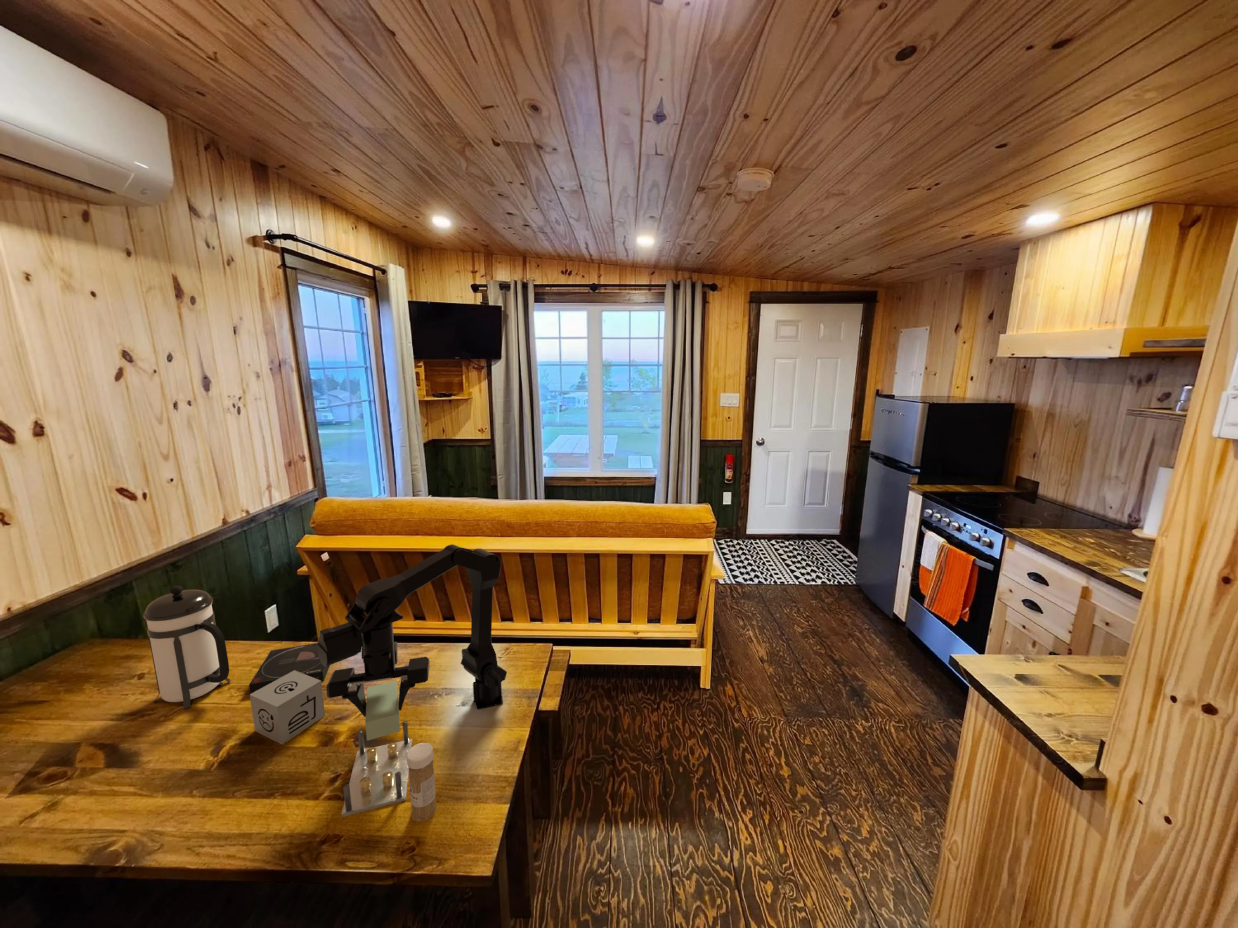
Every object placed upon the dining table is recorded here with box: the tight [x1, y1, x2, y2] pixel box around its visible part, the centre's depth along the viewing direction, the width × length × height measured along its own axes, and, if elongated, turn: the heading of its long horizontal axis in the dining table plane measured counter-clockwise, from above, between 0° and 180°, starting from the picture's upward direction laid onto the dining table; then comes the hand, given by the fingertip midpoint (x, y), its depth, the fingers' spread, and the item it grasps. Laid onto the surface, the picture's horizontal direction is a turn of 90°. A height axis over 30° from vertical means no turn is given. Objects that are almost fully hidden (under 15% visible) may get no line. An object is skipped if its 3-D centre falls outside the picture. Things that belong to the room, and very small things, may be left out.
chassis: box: [341, 720, 413, 818], centre depth 97 cm, size 16×11×6 cm
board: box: [364, 680, 401, 742], centre depth 99 cm, size 12×6×4 cm, turn 26°
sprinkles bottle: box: [407, 742, 438, 823], centre depth 88 cm, size 5×5×14 cm
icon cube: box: [249, 670, 326, 746], centre depth 111 cm, size 10×10×10 cm
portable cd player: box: [248, 642, 331, 695], centre depth 132 cm, size 16×17×4 cm
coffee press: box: [142, 585, 231, 711], centre depth 120 cm, size 17×16×30 cm
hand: (383, 712), depth 100 cm, fingers closed on board, 6 cm apart
